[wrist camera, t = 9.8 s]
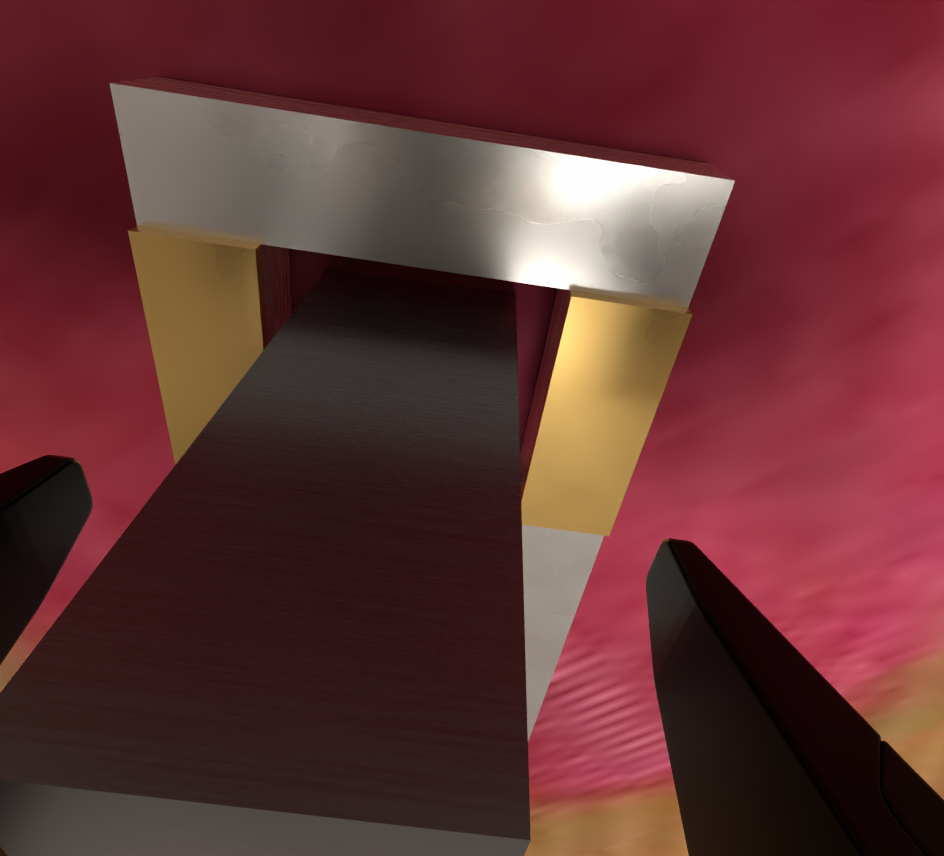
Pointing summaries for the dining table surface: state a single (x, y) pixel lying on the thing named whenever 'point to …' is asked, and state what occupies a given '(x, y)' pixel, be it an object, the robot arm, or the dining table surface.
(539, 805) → the dining table surface
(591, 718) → the dining table surface
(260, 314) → the grey slotted board
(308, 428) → the steel peg
